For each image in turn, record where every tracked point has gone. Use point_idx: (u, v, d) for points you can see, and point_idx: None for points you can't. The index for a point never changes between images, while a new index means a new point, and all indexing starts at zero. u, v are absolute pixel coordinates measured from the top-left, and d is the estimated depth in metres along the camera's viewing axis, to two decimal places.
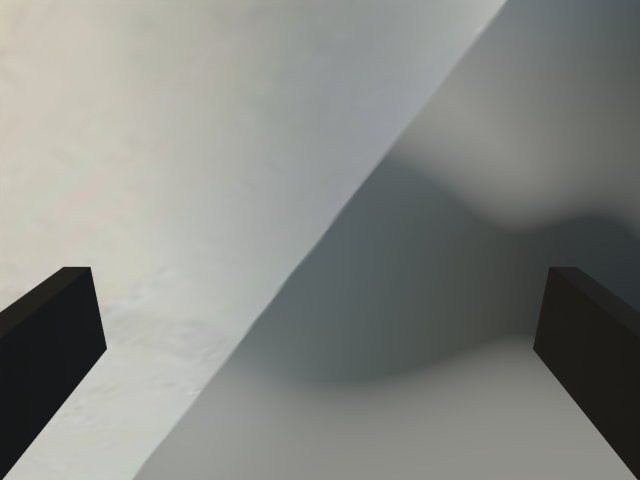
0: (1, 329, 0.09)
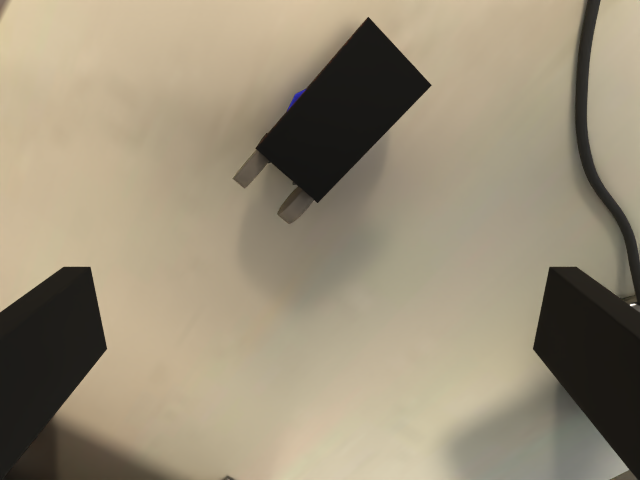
0: (1, 329, 0.09)
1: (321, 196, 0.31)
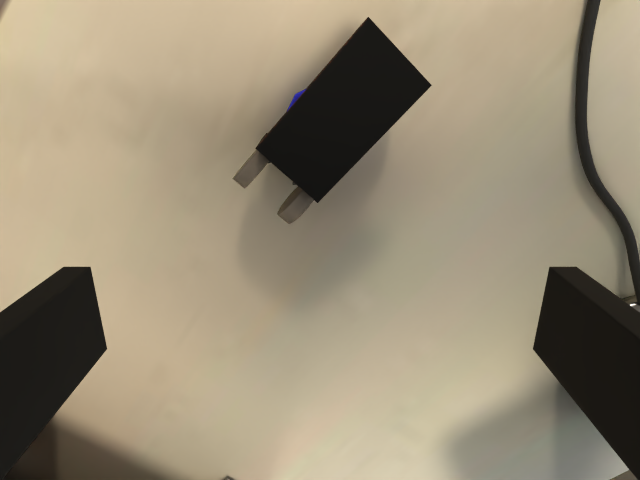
0: (1, 329, 0.09)
1: (321, 196, 0.31)
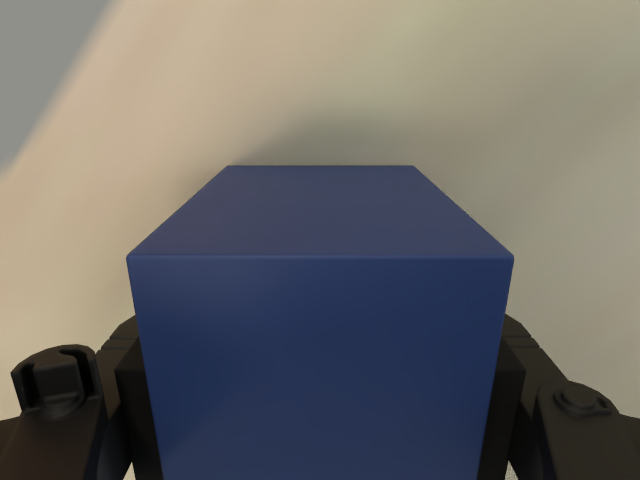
0: None
1: None
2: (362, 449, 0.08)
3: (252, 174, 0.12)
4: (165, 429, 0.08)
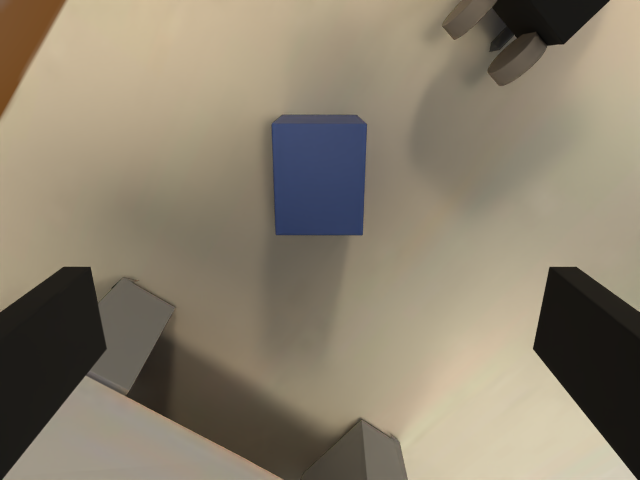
0: (1, 329, 0.09)
1: (570, 35, 0.26)
2: (330, 183, 0.28)
3: (293, 116, 0.32)
4: (276, 176, 0.28)
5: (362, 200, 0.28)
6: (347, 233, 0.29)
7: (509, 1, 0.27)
